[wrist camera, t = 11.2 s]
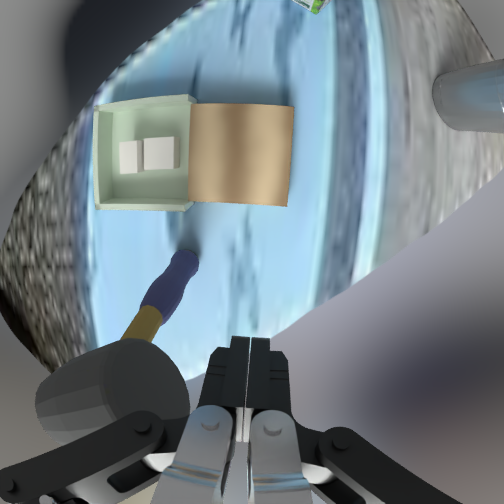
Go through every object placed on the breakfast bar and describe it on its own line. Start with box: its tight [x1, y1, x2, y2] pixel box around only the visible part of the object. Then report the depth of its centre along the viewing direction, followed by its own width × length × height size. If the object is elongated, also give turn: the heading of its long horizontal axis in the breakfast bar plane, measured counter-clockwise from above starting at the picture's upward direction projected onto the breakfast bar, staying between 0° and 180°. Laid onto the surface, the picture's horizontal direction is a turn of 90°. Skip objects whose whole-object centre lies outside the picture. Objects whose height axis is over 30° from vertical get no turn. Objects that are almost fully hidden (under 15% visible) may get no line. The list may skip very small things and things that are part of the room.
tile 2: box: [119, 140, 147, 174], centre depth 32 cm, size 4×4×2 cm
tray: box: [93, 94, 197, 212], centre depth 32 cm, size 13×14×4 cm
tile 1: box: [144, 137, 180, 170], centre depth 32 cm, size 4×4×2 cm
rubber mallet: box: [35, 250, 199, 446], centre depth 25 cm, size 12×8×30 cm, turn 123°
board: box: [188, 103, 294, 207], centre depth 32 cm, size 12×12×3 cm
